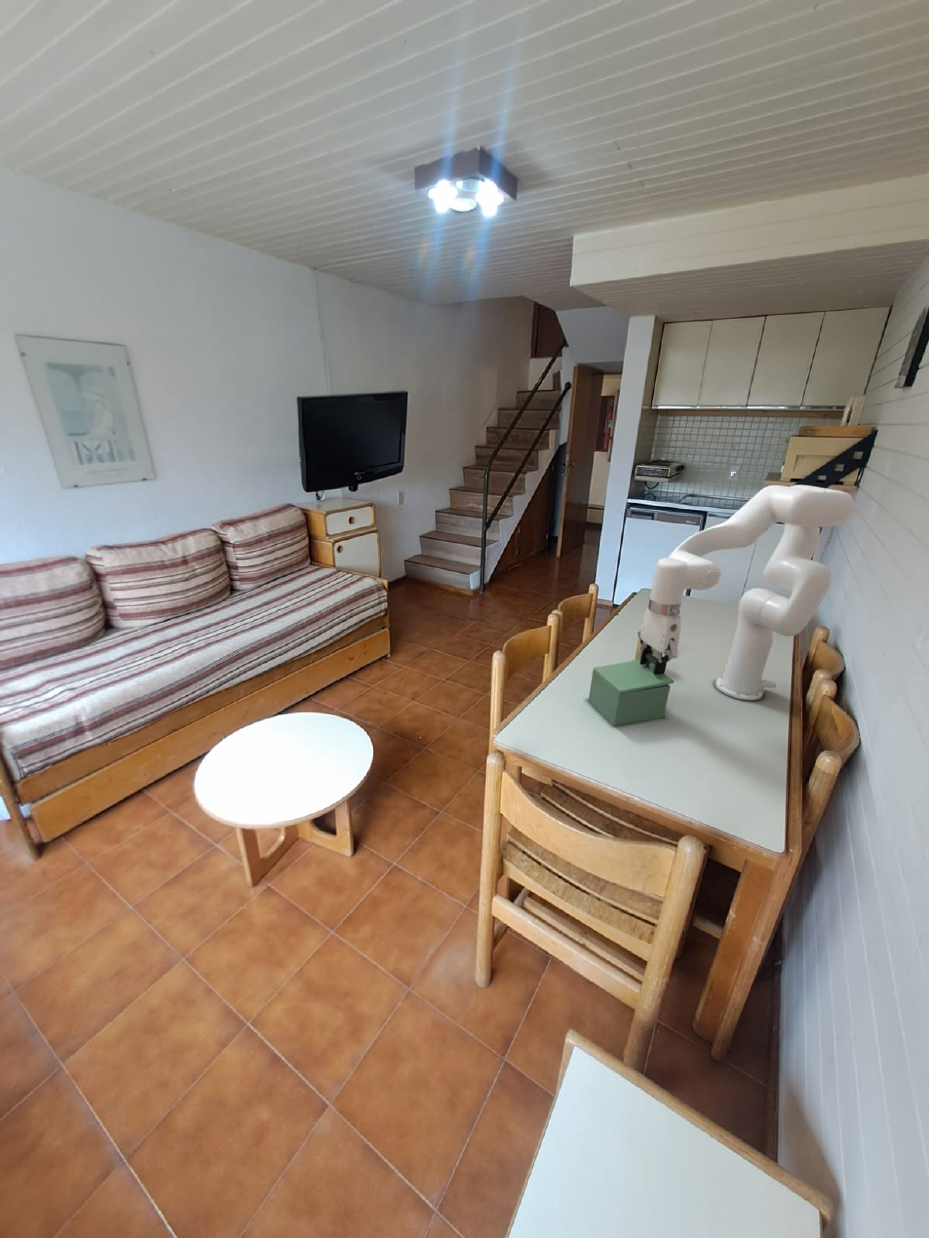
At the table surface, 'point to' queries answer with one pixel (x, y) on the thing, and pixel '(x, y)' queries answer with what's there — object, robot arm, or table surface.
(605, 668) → the box lid
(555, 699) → the table surface
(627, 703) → the green box
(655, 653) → the cosmetic box
